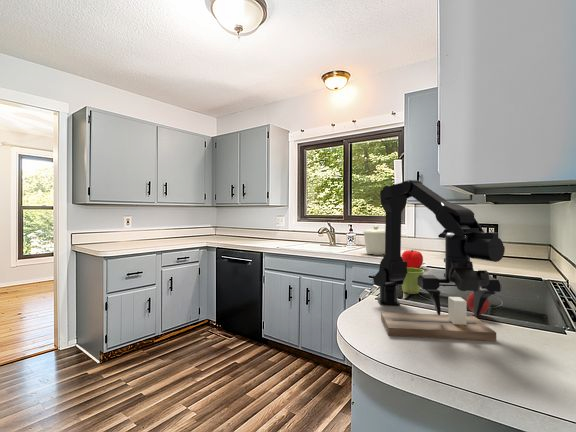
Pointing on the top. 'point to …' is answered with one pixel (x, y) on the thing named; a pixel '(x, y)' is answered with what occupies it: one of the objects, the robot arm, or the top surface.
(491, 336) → the fader console
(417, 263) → the tomato
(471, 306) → the onion
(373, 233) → the canister
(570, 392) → the top surface
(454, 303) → the fader knob
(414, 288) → the plant pot
